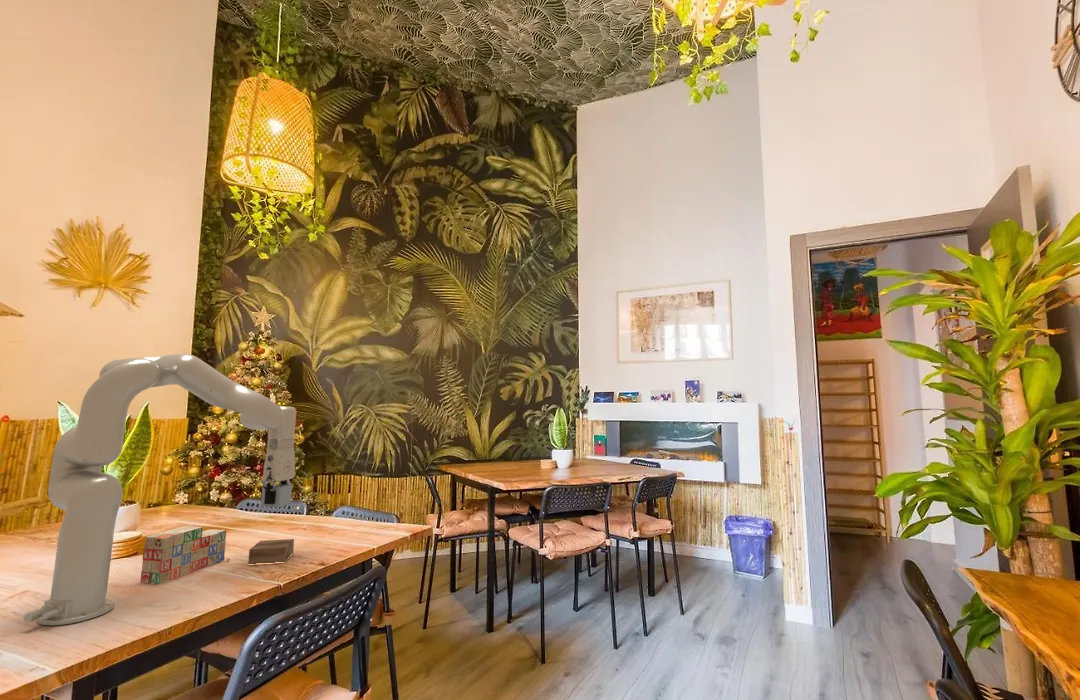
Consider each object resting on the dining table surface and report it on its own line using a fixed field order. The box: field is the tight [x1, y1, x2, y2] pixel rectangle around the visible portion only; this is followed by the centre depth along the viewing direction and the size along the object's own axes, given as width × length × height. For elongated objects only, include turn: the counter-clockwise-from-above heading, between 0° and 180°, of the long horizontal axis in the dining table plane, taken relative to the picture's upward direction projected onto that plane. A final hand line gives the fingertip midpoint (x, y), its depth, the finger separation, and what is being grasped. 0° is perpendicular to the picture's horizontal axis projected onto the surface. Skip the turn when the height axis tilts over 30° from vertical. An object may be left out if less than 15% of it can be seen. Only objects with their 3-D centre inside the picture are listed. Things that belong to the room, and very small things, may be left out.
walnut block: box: [247, 538, 295, 565], centre depth 150 cm, size 10×10×5 cm
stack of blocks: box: [139, 525, 227, 585], centre depth 140 cm, size 21×6×12 cm, turn 170°
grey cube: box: [260, 483, 293, 508], centre depth 153 cm, size 6×6×6 cm
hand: (276, 501), depth 152 cm, fingers closed on grey cube, 6 cm apart
